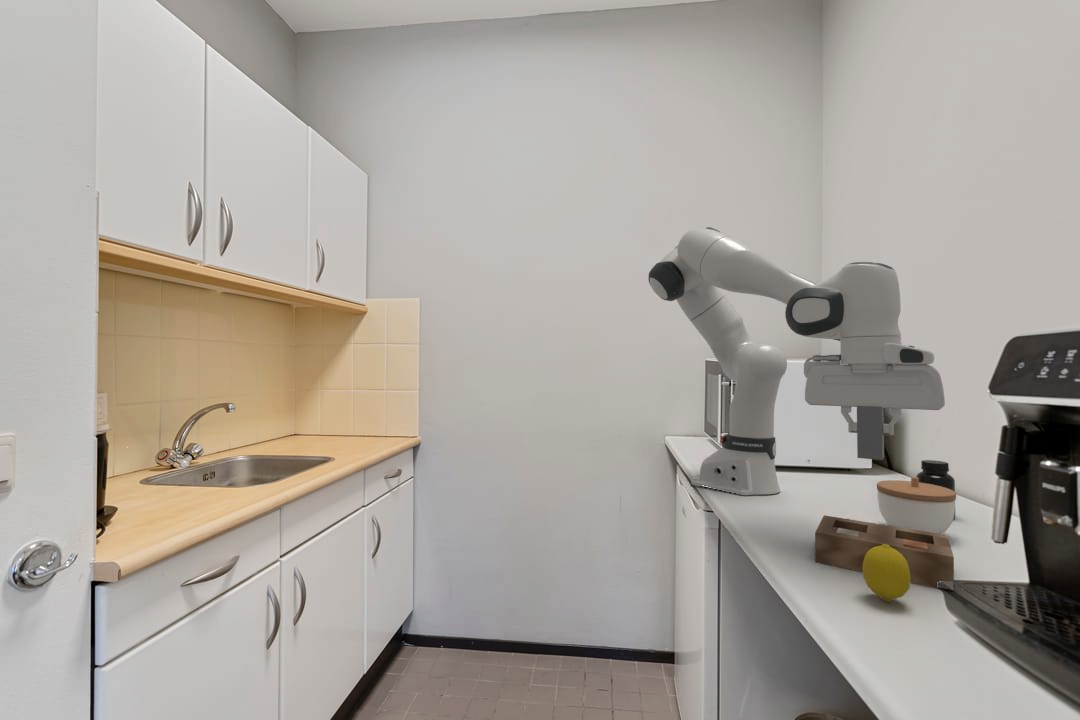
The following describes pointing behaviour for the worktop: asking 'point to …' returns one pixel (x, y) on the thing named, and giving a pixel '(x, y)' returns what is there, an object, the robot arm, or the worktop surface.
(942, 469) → the supplement bottle
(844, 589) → the worktop surface
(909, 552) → the socket block
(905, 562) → the lemon
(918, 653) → the worktop surface
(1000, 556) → the worktop surface
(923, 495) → the lidded bowl
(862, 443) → the plug
